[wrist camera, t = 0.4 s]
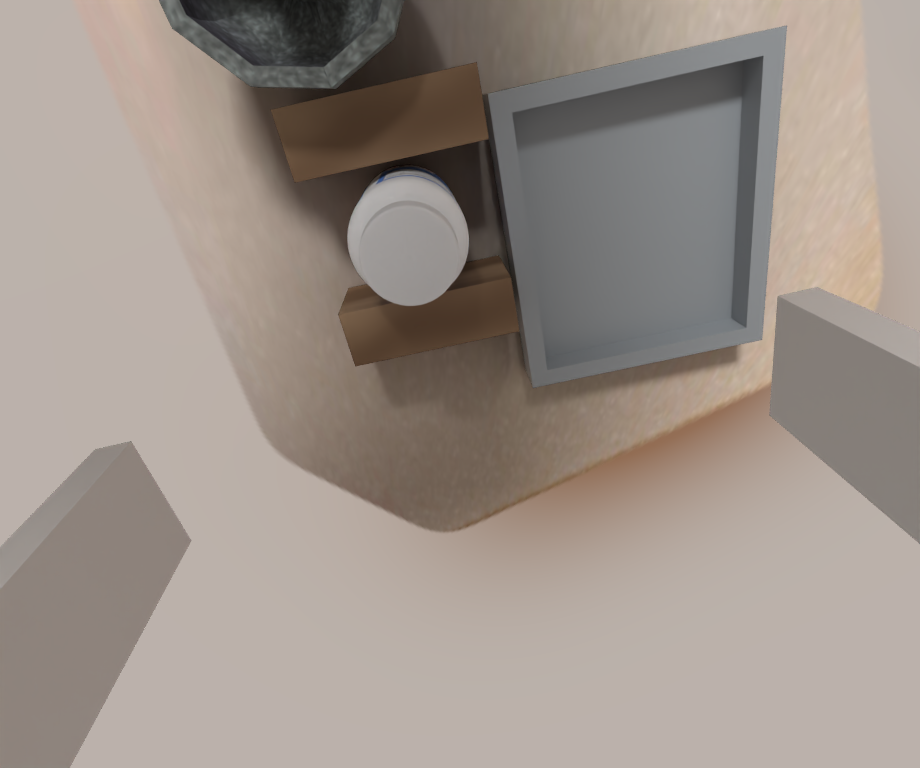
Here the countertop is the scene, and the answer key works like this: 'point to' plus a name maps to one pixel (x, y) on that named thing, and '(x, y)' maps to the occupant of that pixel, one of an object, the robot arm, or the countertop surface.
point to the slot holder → (386, 139)
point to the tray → (640, 205)
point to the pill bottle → (408, 236)
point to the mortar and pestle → (287, 37)
